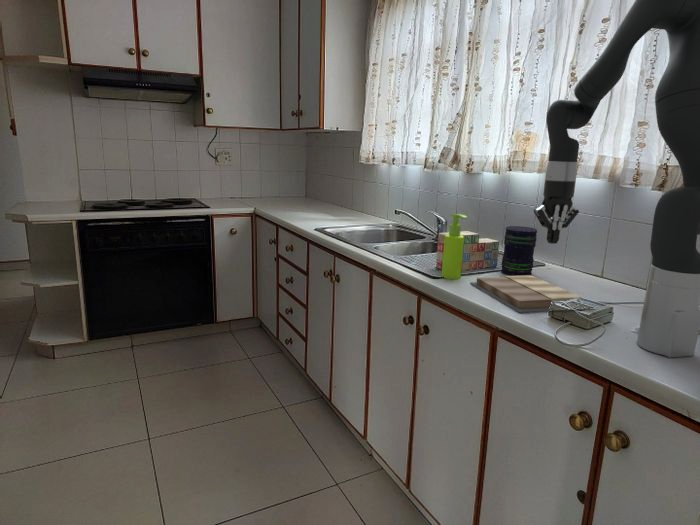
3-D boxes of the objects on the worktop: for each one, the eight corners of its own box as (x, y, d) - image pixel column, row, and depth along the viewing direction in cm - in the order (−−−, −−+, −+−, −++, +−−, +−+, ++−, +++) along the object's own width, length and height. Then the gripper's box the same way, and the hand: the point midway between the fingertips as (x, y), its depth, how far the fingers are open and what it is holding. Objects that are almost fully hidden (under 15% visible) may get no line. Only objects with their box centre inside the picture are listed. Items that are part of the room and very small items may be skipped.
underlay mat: (594, 309, 122) (595, 307, 121) (519, 313, 116) (519, 311, 116) (534, 281, 146) (534, 279, 146) (469, 284, 141) (470, 282, 141)
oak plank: (580, 304, 123) (582, 297, 122) (551, 306, 121) (552, 298, 120) (530, 281, 143) (531, 275, 143) (504, 282, 141) (505, 276, 141)
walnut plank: (549, 306, 121) (550, 299, 120) (518, 308, 118) (519, 301, 118) (503, 283, 141) (504, 276, 141) (476, 284, 139) (477, 277, 139)
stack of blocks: (485, 263, 169) (488, 229, 166) (497, 267, 163) (500, 232, 160) (435, 267, 160) (438, 232, 157) (446, 272, 154) (449, 235, 151)
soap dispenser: (453, 281, 144) (459, 216, 139) (437, 275, 149) (442, 213, 145) (466, 278, 147) (472, 215, 142) (450, 273, 152) (456, 212, 148)
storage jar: (517, 268, 162) (522, 225, 158) (538, 275, 153) (544, 230, 150) (494, 270, 158) (498, 226, 155) (514, 278, 149) (520, 231, 146)
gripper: (547, 179, 120) (539, 246, 124) (591, 180, 123) (582, 245, 127) (529, 178, 127) (523, 241, 131) (572, 178, 130) (564, 240, 134)
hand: (552, 243), depth 129 cm, fingers closed
